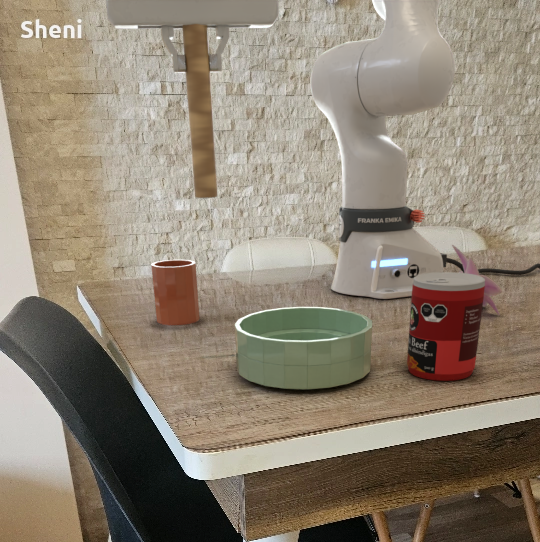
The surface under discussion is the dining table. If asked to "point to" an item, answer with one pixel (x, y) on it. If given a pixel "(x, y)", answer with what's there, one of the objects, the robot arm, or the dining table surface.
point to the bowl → (303, 347)
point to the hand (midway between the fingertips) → (197, 72)
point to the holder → (175, 292)
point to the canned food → (444, 325)
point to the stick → (200, 109)
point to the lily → (490, 285)
